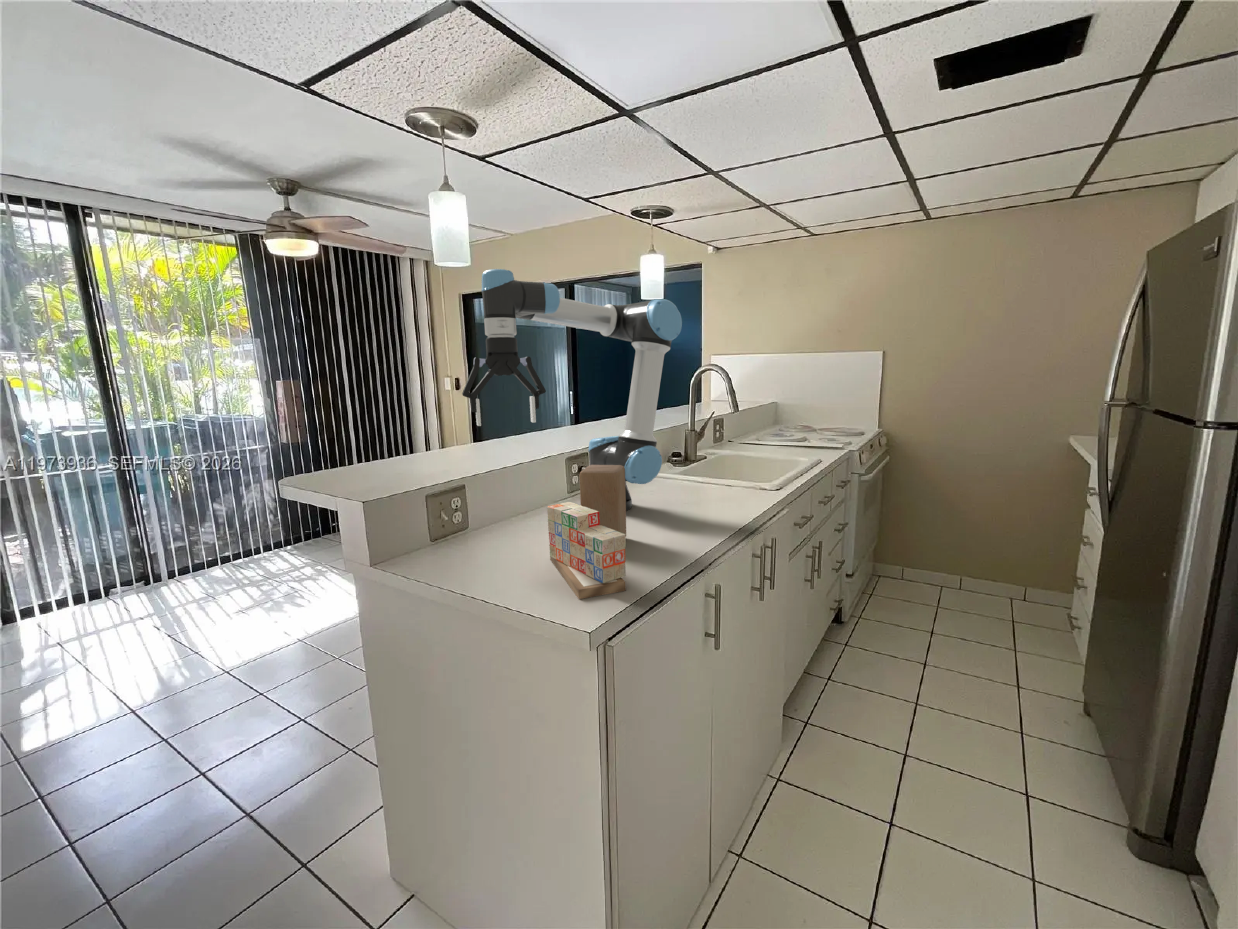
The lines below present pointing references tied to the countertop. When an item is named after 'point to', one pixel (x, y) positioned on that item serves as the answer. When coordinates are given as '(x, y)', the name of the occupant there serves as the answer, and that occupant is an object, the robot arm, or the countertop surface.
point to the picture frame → (587, 582)
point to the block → (605, 494)
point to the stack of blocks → (585, 542)
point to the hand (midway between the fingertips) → (506, 423)
